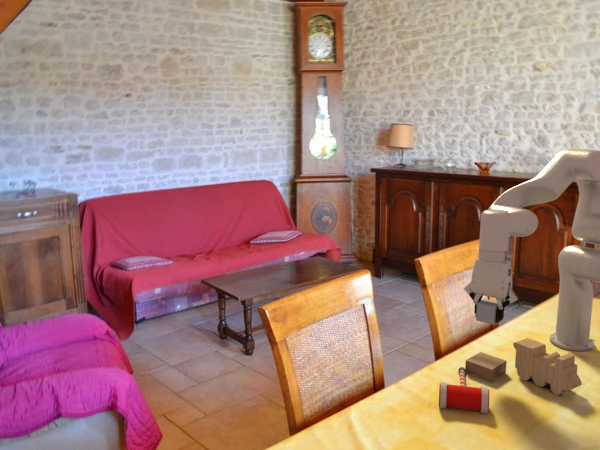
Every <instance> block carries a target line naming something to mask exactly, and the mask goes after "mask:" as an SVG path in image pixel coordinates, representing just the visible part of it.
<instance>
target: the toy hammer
mask: <svg viewBox="0 0 600 450" xmlns="http://www.w3.org/2000/svg"><path fill="white" fill-rule="evenodd" d="M458 374H459V384H460V385H458V384H450V383H449V384H448V382H447V381H440V383H439V389H438V390H439V391H438V393H439V394H438V406H439V408H440V409H447V407H449V408H456V409H464V410H472V411H480V414H488V412H489V411H490V410H489V409H490V389H489V387H488V386H486V385H484V386H483V385H481V386H480V387H473V386H466V377H465V375H466V374H467V373H466V371H465V367H461V366H460V367H459V368H458Z"/></svg>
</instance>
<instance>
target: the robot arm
mask: <svg viewBox="0 0 600 450" xmlns="http://www.w3.org/2000/svg"><path fill="white" fill-rule="evenodd" d="M574 181H575V182H576V185H577V188H578V193H579V194H578V195H579V196H578V200H577V201H578V202H577V205H576V209H575V214H574V217H573V222H572V226H571V235H572V237H573V238H574V239H575V240H577V241H579V242H583V243H587V244H592V245H597V246H600V150H598V149H585V148H584V149H583V148H565V149H562V150H560V151H559V152H557V154H555V155H554V156H553V157H552V158H551V159H550V161H549V162H547V164H546V165H545V166H544V167H543V168H542V169H541V170H540V171H539V172H537V174H536V175H535V176H534V177H533V178H532V179H530V180H527V181H524V182H522V183H519V184H518V185H516V186H513V187H511V188H509V189H507V190H506V191H504V192H503V193H501V194H500V195H499V196H498V197H497V198H496V199H495V200H494V201H493V202H492V204H491V205H490V206H489V207H488V209H485V210H483V211H482V213H481V214H480V225H479V226H480V228H479V229H480V230H479V241H478V242H479V243H478V257H476V259H475V261H474V264H473V269H472V274H471V281H470V282H469V283H468V284H467V285H466V286H465V287H464V291H465V292H466V293H467V294H468V295H469V297H470V298H471V300H472V302H473V304H474V311H473V312H474V314H475V318H476V313H477V303H478V302H480V301H482V300H483V297H484V296H485V297H490V298H494V299H496V301H497V304H498V308H497V309H496V319H495V322H496V323H495V324H498V323H500V322H501V321H503V320H504V317H505V315H504V314H505V308H506V307H507V306H509V305H511V304H512V303H515V302H517V301H518V299H519V297H518V296H517V294H516V293H515V291H514V289H513V271H512V262H511V261H509V260H513V259H514V254H511V253H510V250H509V248H510V247H509V246H510V237H521V238H523V237H528V236H531V235H532V234H533V233H534V232H535V231H536V230H537V229H538V226H539V219H538V216H537V215H536V214H535V213H534V212H533V211H531V210H529V209H525V208H524V207H529V206H534V205H540V204H541V205H542V204H545V203H549V202H553V201H555V200H557V199H559V197H560V196H561V195H562V194H563V193H564V192H565V191H566V190H567V188H568V187H569V186H570V185H571V184H572V183H573V182H574ZM557 259H558V260H557V263H558V264H557V265H558V272H559V289H558V291H559V293H558V299H557V300H558V302H557V311H556V313H557V314H556V315H557V316H556V325H555V327H556V328H555V333H552V334H550V336H549V341H550V343H551V344H553V345H554V346H556V347H558V348H561V349H563V350H567V351H573V352H574V351H576V352H587V351H591V350H593V349H594V348H595V341H594V340H593V339H592V338H590V335H591V334H590V332H591V325H592V324H591V323H592V312H593V301H594V288H593V285H592V282H594V283H599V284H600V249H596V248H593V247H588V246H583V245H577V244H572V245H567V246H565V247H563V248H562V250H560V252H559V254H558V258H557ZM507 296H509V298H508V299H507V300H506V298H507Z"/></svg>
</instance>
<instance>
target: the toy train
mask: <svg viewBox="0 0 600 450" xmlns="http://www.w3.org/2000/svg"><path fill="white" fill-rule="evenodd" d="M512 345H513V348H514V350H515V362H514V367H515V369H516V373H517V376H518V378H520V379H521V380H523V381H529V380H530V379H531V380H532V381H533V383H534V384H535V385H536V386H538V387H541V388H542V387H545V386H547V385H550V387H549V388H550V390H551V392H552V393H553V394H554V395H555V396H556V395H557V396H560V395H561V394H562V395H563V394H564V393H566V392H569V391H572V390H574V389H575V388H578V387H581V386H582V381H581V379H580V377H579V375H578V364H576V363H575V360H576V359H575V358H576V355H575V354H573V353H570V352H569V353H566V354H563V355H561V354H560V353H559V352H558V351H557V352H556V351H555V352H552V353H548V352H547V347H546V344H545V343H542V342H540V341H537V340H535V339H531V338H529V337H526V338H524V339H521V340H518V341H516V342H515V341H514V342H513V344H512Z"/></svg>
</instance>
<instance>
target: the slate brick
mask: <svg viewBox="0 0 600 450" xmlns="http://www.w3.org/2000/svg"><path fill="white" fill-rule="evenodd" d="M497 308H498V304H497V300H492V299H487V298H482V300H481V301H480V302H478V303H477V313H476V314H475V315H476V317H475V321H478V322H481V323H485V324H489V325H493V326H494V325H495V324H497V323H496V322H495V319H496V309H497Z"/></svg>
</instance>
